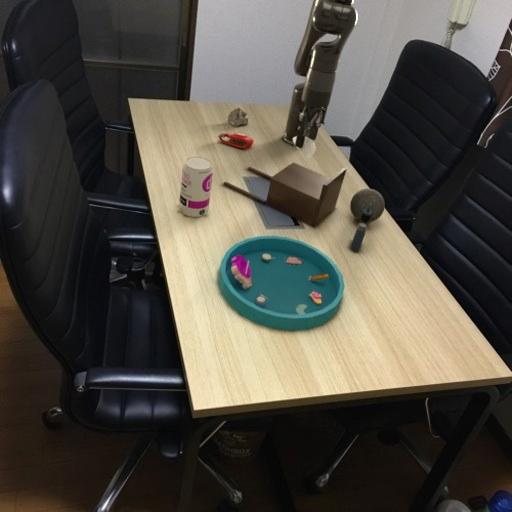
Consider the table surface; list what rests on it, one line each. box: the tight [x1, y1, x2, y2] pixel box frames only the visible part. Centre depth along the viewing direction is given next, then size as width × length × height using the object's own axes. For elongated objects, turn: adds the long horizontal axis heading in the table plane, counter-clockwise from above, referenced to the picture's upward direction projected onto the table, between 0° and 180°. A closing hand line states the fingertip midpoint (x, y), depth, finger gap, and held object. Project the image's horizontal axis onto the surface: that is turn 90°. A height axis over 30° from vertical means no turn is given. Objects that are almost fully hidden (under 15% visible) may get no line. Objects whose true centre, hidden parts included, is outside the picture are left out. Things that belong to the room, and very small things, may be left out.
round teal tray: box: [218, 235, 345, 332], centre depth 122 cm, size 30×30×6 cm
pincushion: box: [293, 135, 317, 159], centre depth 143 cm, size 12×6×6 cm, turn 11°
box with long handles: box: [223, 162, 347, 228], centre depth 153 cm, size 15×32×14 cm, turn 58°
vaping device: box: [350, 208, 372, 253], centre depth 139 cm, size 3×5×12 cm, turn 161°
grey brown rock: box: [227, 107, 249, 127], centre depth 192 cm, size 4×8×7 cm, turn 108°
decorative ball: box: [349, 188, 385, 223], centre depth 151 cm, size 10×10×10 cm
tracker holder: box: [217, 132, 254, 150], centre depth 180 cm, size 12×4×10 cm
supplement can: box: [178, 155, 214, 218], centre depth 139 cm, size 8×8×15 cm
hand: (305, 142), depth 143 cm, fingers closed on pincushion, 7 cm apart
